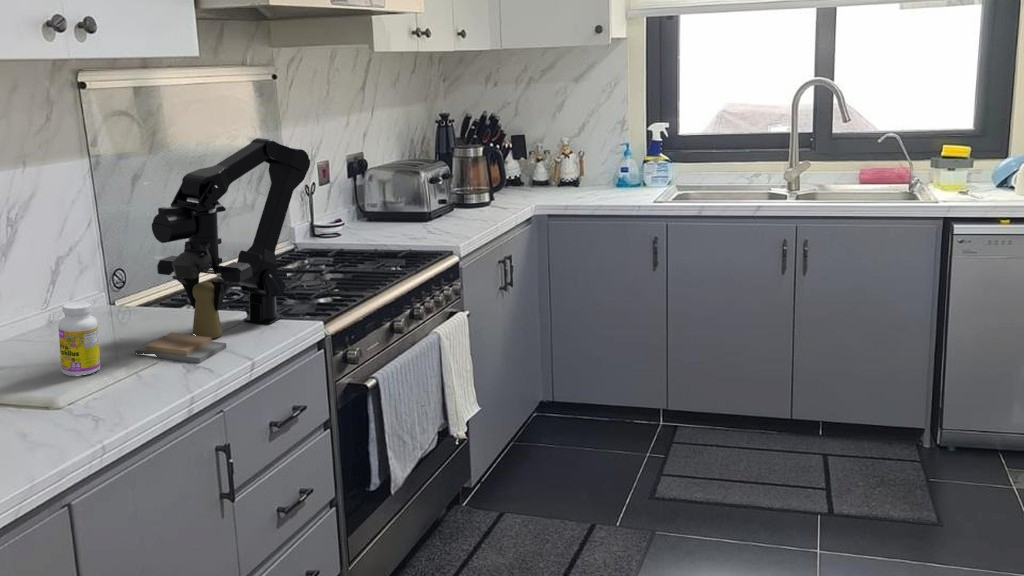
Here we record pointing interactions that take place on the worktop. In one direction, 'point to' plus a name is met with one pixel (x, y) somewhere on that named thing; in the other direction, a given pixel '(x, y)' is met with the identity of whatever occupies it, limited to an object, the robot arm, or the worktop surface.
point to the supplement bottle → (79, 340)
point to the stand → (182, 347)
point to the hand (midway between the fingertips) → (206, 309)
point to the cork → (205, 312)
